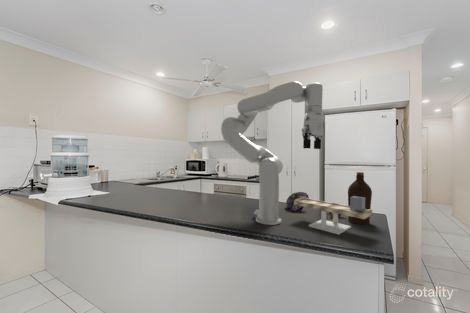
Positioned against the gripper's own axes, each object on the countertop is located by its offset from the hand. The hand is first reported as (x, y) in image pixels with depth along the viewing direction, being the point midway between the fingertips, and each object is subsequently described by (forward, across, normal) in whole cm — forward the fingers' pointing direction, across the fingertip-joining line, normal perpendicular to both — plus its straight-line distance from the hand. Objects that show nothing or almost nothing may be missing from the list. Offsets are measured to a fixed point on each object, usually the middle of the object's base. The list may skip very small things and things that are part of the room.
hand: (312, 148), depth 105 cm
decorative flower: (+37, +24, +22) cm, 49 cm away
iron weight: (+26, +7, -18) cm, 33 cm away
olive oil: (+36, +27, -12) cm, 47 cm away
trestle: (+36, +7, -6) cm, 37 cm away
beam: (+28, +7, -6) cm, 30 cm away
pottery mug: (+37, +27, +1) cm, 46 cm away
